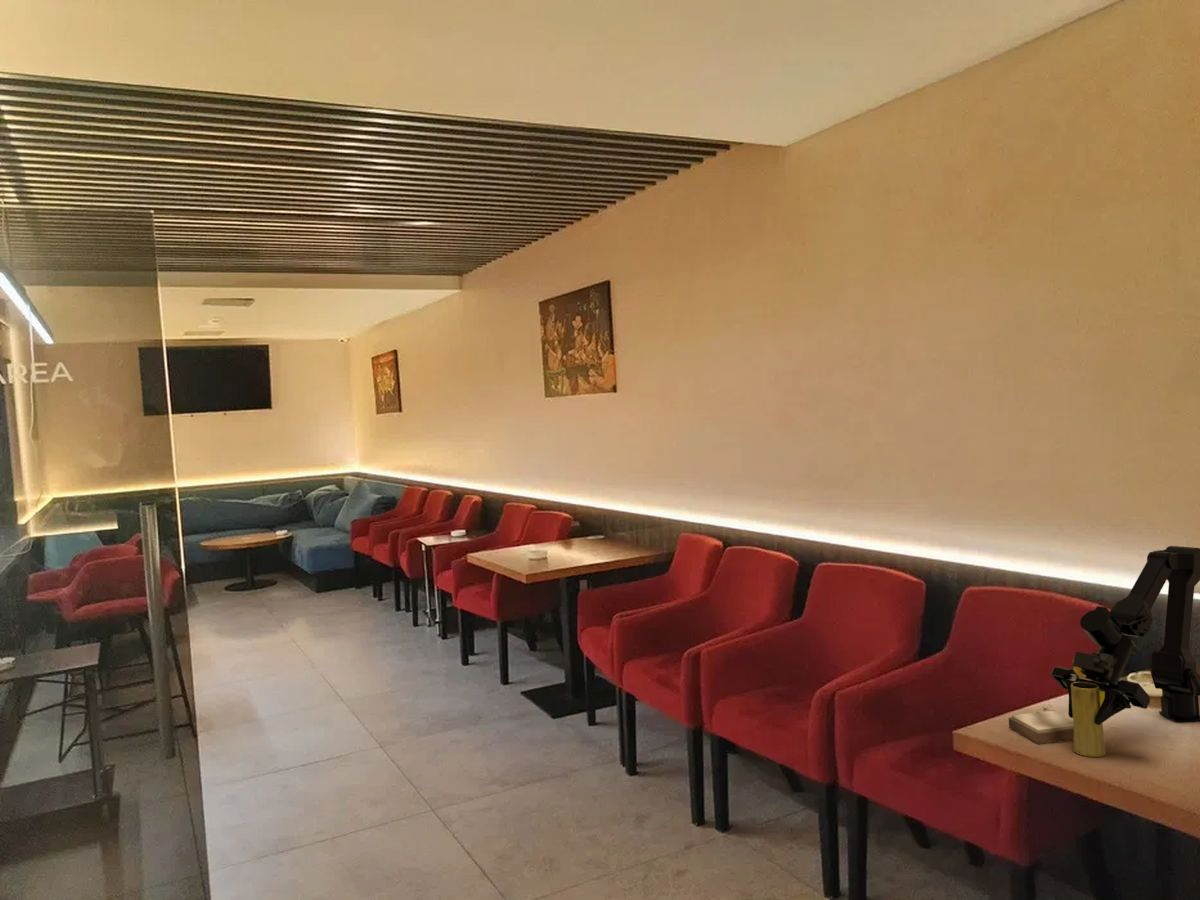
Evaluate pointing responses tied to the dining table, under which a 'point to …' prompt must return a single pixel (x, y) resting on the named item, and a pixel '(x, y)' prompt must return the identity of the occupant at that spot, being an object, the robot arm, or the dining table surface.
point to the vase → (1086, 720)
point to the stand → (1042, 727)
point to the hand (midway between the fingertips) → (1083, 720)
